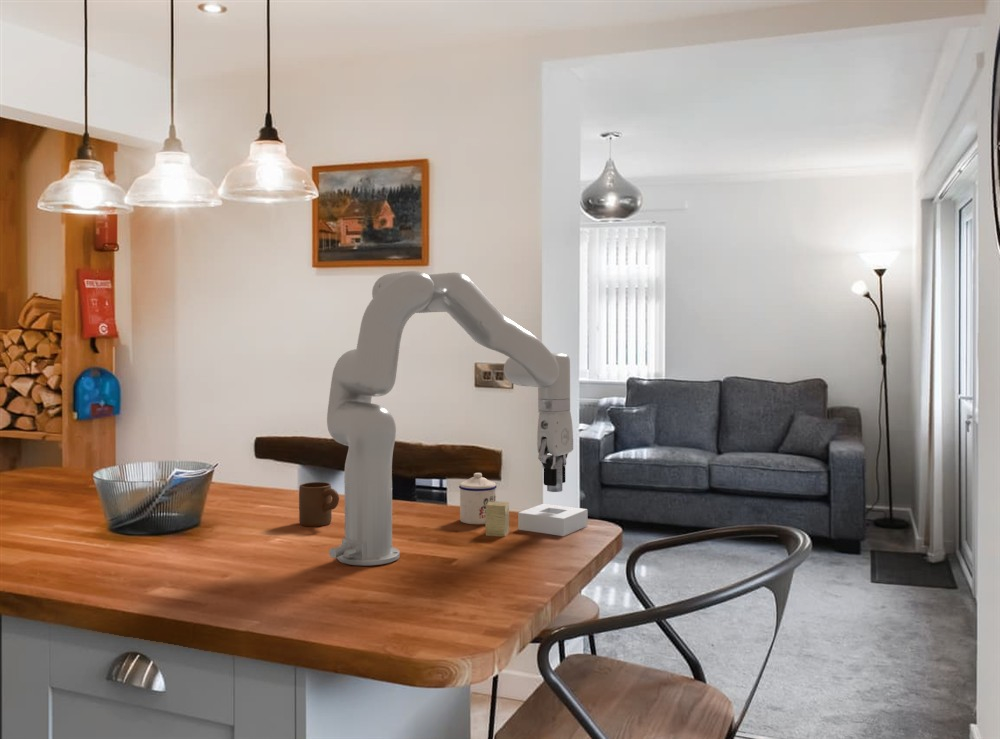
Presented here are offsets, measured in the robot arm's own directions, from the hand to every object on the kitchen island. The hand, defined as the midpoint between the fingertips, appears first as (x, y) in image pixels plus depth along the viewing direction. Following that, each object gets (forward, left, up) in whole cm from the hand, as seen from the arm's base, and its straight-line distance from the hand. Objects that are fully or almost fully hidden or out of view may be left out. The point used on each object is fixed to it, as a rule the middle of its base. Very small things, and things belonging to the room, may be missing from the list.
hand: (554, 483), depth 204 cm
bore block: (0, 0, -11) cm, 11 cm away
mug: (-27, +48, -11) cm, 56 cm away
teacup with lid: (-2, +19, -11) cm, 22 cm away
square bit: (-12, +8, -11) cm, 18 cm away
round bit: (0, 0, -2) cm, 2 cm away
